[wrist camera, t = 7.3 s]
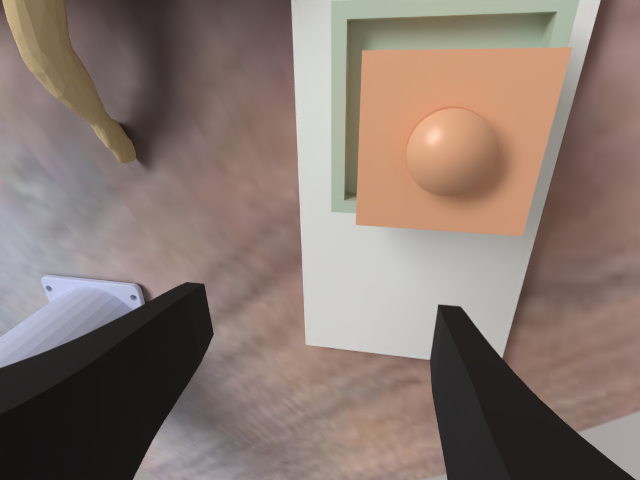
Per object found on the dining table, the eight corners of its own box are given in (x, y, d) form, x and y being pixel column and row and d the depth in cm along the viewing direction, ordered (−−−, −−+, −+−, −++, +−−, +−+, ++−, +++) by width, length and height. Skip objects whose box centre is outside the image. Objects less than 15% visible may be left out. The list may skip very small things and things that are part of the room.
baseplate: (495, 356, 23) (523, 441, 18) (309, 334, 25) (286, 405, 20) (598, -36, 14) (714, -90, 9) (296, -19, 16) (249, -55, 11)
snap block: (485, 184, 14) (530, 246, 9) (367, 179, 14) (353, 234, 10) (512, 51, 12) (585, 46, 7) (373, 53, 12) (359, 50, 8)
